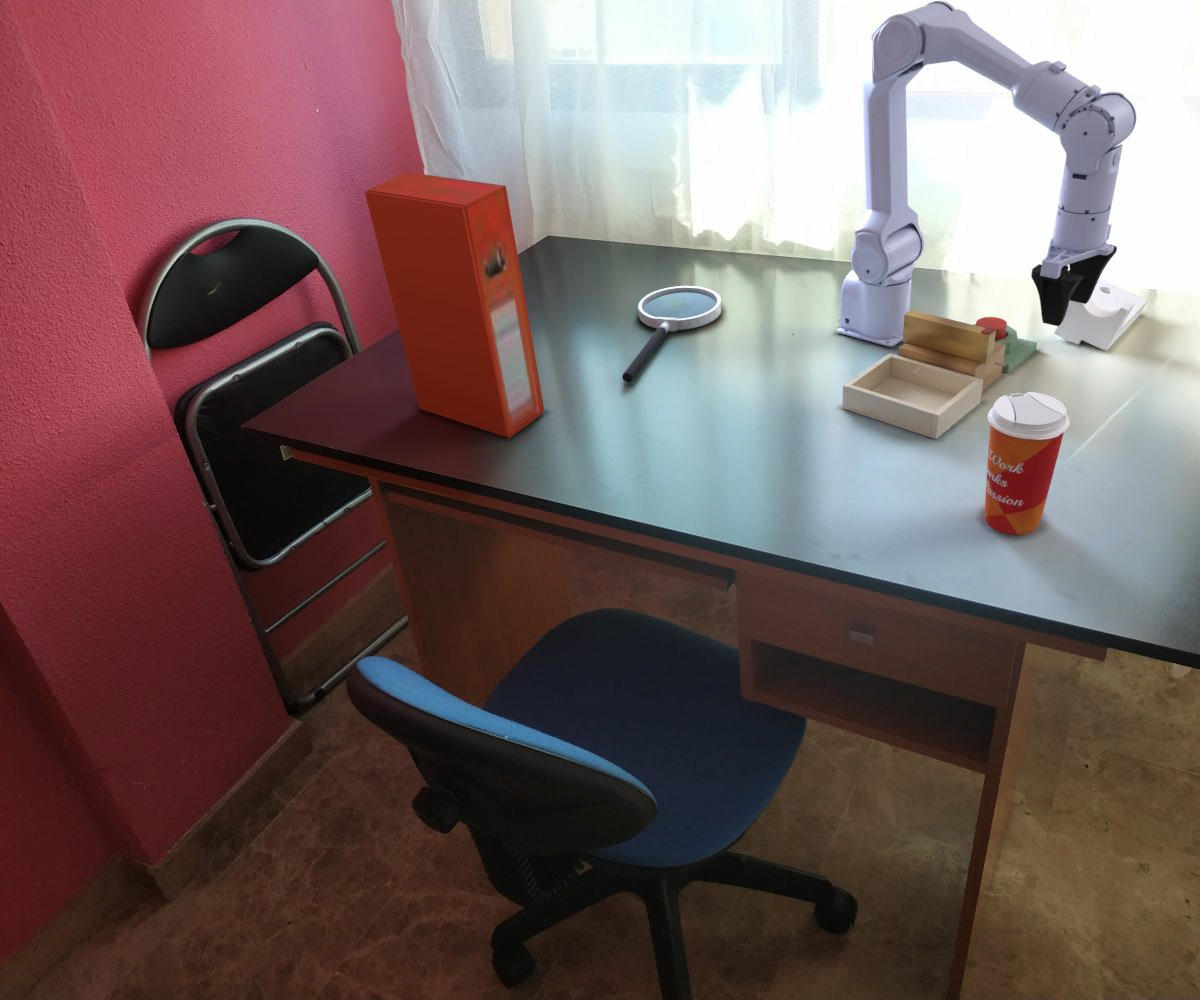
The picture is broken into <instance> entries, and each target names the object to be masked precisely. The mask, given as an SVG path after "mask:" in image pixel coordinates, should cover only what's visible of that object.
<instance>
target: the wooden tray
mask: <svg viewBox="0 0 1200 1000" xmlns="http://www.w3.org/2000/svg"><path fill="white" fill-rule="evenodd" d="M917 369H921V370H920V371H919V372H918V373H917V374H915V375H914V374H912V373H913V372H915V371H916V370H917ZM982 386H983V379H980V378H976V377H973V376H969V375H966V374H962V373H959V372H955V371H951V370H948V369H944V368H941V367H937V366H934V365H930V364H926V363H923V362H919V361H916V360H912V359H909V358H905V357H902V356H899V354H898V355H897V354H894V353H891V352H889V353H887V354H886V355H884V356H883V357H881V358H880V359H879V360H877V361H875V362H874V363H873V364H871V365H870V366H869V367H867V368H866V369H864V370H863V371H862V372H860V373H858V374H857V375H856V376H854V377H853V378H852V379H850V380H848V381H847V382H846V383H844V384H843V385H842V402H841V403H842V405H841V408H842V409H844V410H846V411H850V412H853V413H855V414H859V415H862V416H865V417H867V418H872V419H874V420H877V421H880V422H883V423H886V424H889V425H892V426H895V427H898V428H901V429H905V430H908V431H911V432H913V433H915V434H920V435H922V436H926V437H929V438H931V439H935V440H937V439H938V438H940V437H941V436H942V435H943V434H944V433H946V432H947V431H949V429H950V428H952V427H953V426H954V425H955V424H956V423H957V422H959V421H960V420H961V419H963V418H964V417H965V416H966V415H967V414H968V413H970V412H971V411H972V410H973V409H974V408H975V407H977V406H978V405H979V404H981V400H982V394H983V390H982Z"/></svg>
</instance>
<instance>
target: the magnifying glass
mask: <svg viewBox="0 0 1200 1000" xmlns="http://www.w3.org/2000/svg"><path fill="white" fill-rule="evenodd" d="M637 308H638V309H637V310H638V318H639V320H640V321H641V322H642V324H645V325H646V326H648V327H651V328H653V329H656V330H655V331H654V333H653V334H652V335H651V336H650V338H649V339H648V341H647V342H646V343H645V345H644V346H643V347H642V348H641V350H640V351H639V353H638V354H637V355H636V357H635V358H634V360H633V361H632V362H631V364H630V365H629V366H628V367H627V369H626V370H625V371H624V372H623V374H622V380H623V382H625V383H626V384H627V383H628V384H629V383H632V382H633V380H634V379H635V378H636V376H637V375H638V373H640V371H641V370H642V368H643V367H644V365H646V363H647V362H648V360H649V358H650V357H651V356H652V354H654V351H655V350H656V349H657V348H658V346H659V345H660V344H661V342H662V340H663V339H664V338H665V337H666V335H667V334H668V332H677V331H682V330H691V329H695V328H698V327H702V326H705V325H707V324H709V323H711V322H714V321H715V320H716V319H718V317H719V316H720V315H721V313H722V299H721V296H720V294H719V293H717V292H716V291H714V290H712V289H710V288H706V287H704V286H703V287H702V286H695V285H680V286H679V285H678V286H672V287H665V288H661V289H658V290H654V291H652V292H650V293H648V294H646V295H645V296H644V297H642V298H641V299H640V301H639V302H638V306H637Z"/></svg>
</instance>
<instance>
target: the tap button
mask: <svg viewBox="0 0 1200 1000" xmlns="http://www.w3.org/2000/svg"><path fill="white" fill-rule="evenodd" d="M975 324H976V326H979V327H983V328H986V327H989V328H993V329H994V330H996V334H995V341H997V340H1001V339H1004V338H1005V336H1006V328H1007V326H1008V323H1007V321H1006V320H1005V319H1004V318H1002V317H995V316H985V317H981V318H979V319H977V320H976V322H975Z"/></svg>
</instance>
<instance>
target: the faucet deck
mask: <svg viewBox="0 0 1200 1000" xmlns="http://www.w3.org/2000/svg"><path fill="white" fill-rule="evenodd" d="M891 336H892V337H896V338H902V337H901V336H897V335H894V334H892V335H891ZM1005 346H1006V345H1005V344H1001V343H997V342H994V349H993V357H992V359H991V360H990V361H989V362H987V363H986V364H984V363H981V362H977V361H973V360H970V359H966V358H962V357H958V356H955V355H951V354H947V353H944V352H940V351H936V350H932V349H929V348H925V347H921V346H918V345H914V344H910V343H906V342H904V344H902V345H900V346H899V347H898V356H902V357H905V358H909V359H912V360H916V361H919V362H923V363H926V364H930V365H934V366H937V367H941V368H944V369H948V370H951V371H955V372H959V373H962V374H966V375H969V376H973V377H976V378H980V379H983V386H982V391H983V390H984V389H986V388H987V387H989V386H990V385H991V384H993V382H995V381H996V380H997V379H998V378H999V377H1001V376H1002V374H1003V371H1002V368H1003V366H1005V364H1003V361H1004V354H1005ZM920 370H921V369H917V370H916V371H915V372H913V373H912V374H914V375H915V374H917V373H918V372H919V371H920Z"/></svg>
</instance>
